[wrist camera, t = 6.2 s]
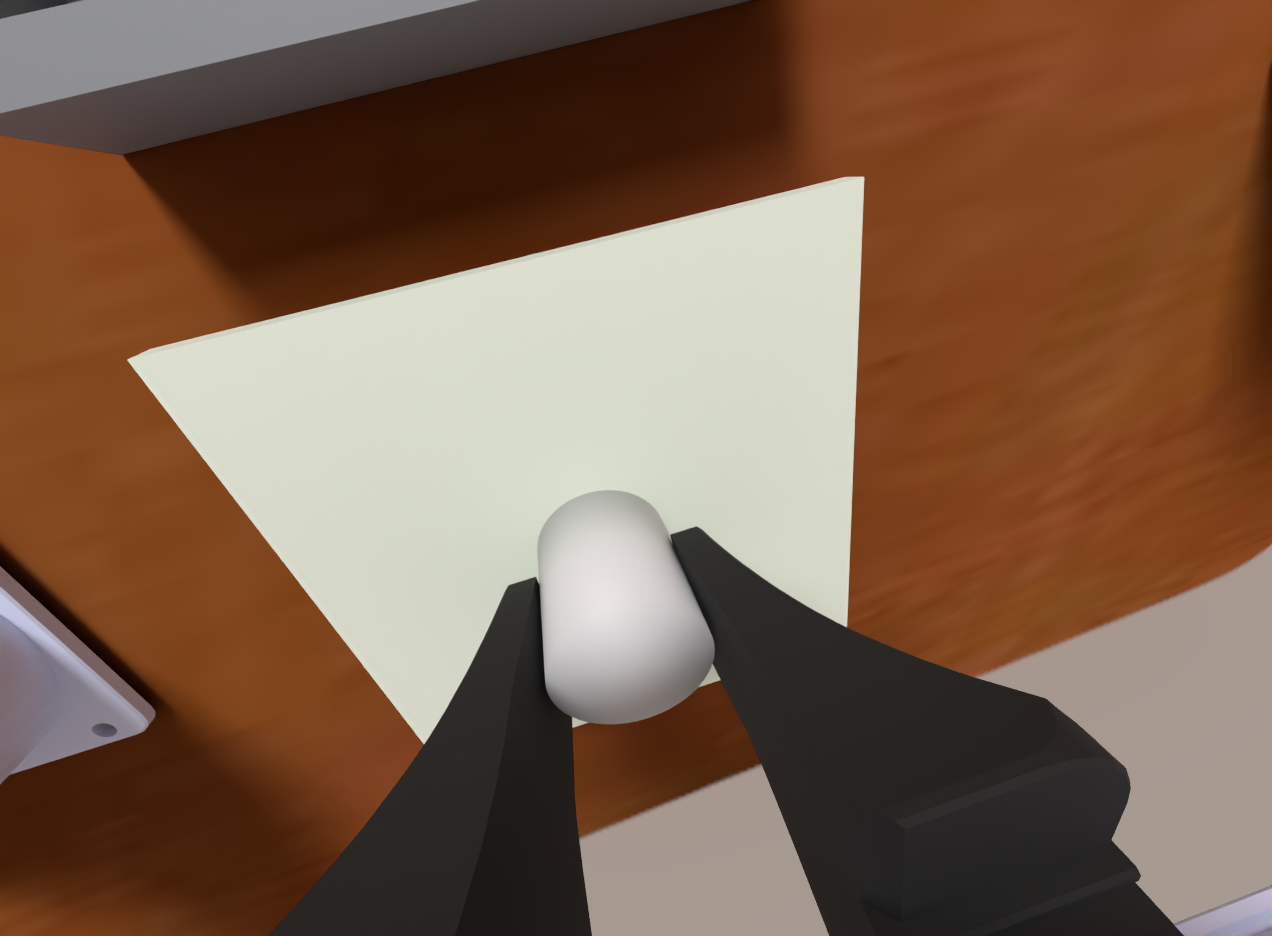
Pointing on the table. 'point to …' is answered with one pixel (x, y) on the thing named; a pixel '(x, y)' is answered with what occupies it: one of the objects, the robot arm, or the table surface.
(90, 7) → the box
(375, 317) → the lid
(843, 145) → the table surface
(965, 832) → the robot arm
